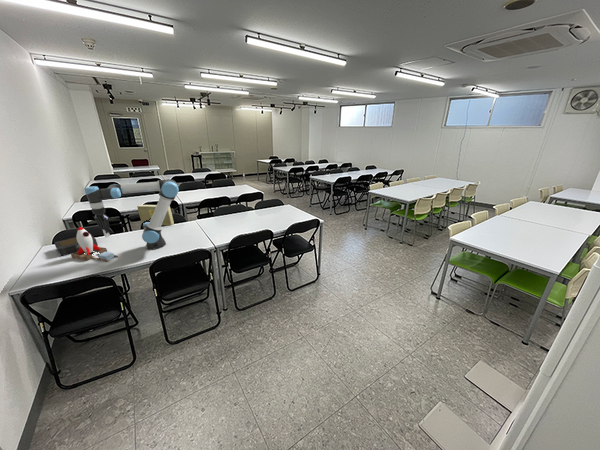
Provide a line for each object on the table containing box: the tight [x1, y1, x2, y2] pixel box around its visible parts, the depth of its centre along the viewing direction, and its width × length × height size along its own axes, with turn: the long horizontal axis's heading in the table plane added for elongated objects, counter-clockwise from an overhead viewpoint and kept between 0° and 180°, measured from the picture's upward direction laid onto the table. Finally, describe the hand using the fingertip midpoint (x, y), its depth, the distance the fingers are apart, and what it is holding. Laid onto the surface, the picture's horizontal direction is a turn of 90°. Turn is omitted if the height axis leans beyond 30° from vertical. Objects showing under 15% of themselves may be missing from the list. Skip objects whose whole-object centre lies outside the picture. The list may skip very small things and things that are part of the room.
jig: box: [70, 246, 119, 263], centre depth 194 cm, size 34×16×4 cm, turn 73°
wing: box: [97, 251, 115, 261], centre depth 191 cm, size 9×6×4 cm, turn 73°
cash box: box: [54, 233, 99, 257], centre depth 207 cm, size 25×20×8 cm
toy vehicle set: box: [136, 204, 175, 226], centre depth 257 cm, size 35×5×22 cm, turn 85°
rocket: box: [76, 226, 100, 255], centre depth 192 cm, size 11×11×25 cm
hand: (107, 236), depth 181 cm, fingers closed
